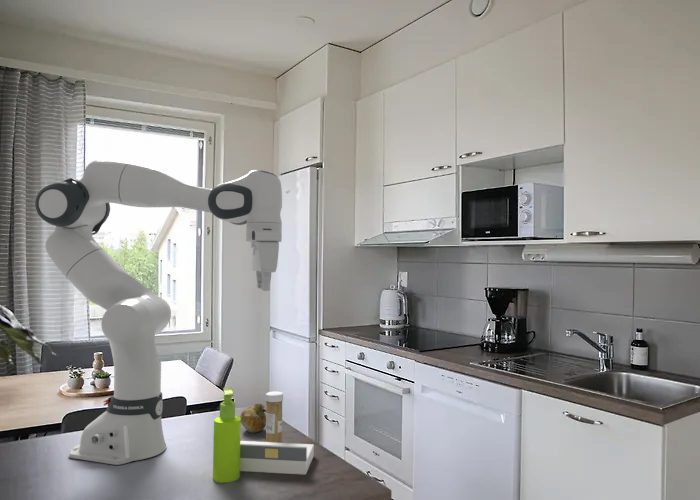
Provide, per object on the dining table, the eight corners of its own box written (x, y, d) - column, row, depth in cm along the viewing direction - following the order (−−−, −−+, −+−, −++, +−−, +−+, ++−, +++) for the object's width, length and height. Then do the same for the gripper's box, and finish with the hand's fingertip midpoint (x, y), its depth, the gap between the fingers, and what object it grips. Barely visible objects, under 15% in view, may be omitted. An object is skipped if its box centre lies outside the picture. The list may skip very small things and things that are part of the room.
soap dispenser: (213, 486, 114) (215, 393, 114) (212, 473, 120) (214, 385, 121) (241, 483, 115) (242, 391, 116) (238, 470, 122) (240, 384, 122)
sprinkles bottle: (285, 444, 139) (286, 393, 140) (269, 447, 137) (270, 396, 137) (277, 439, 143) (278, 389, 143) (262, 442, 141) (263, 392, 141)
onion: (257, 424, 155) (257, 397, 155) (272, 431, 149) (273, 403, 150) (234, 430, 150) (235, 402, 150) (250, 437, 144) (250, 408, 144)
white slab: (220, 470, 122) (220, 444, 122) (235, 452, 133) (236, 428, 133) (305, 475, 120) (305, 448, 120) (313, 456, 131) (314, 432, 131)
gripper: (247, 235, 142) (246, 287, 142) (256, 233, 123) (255, 292, 122) (270, 236, 144) (269, 287, 144) (282, 233, 124) (282, 292, 124)
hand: (263, 289), depth 133 cm, fingers open, 8 cm apart
